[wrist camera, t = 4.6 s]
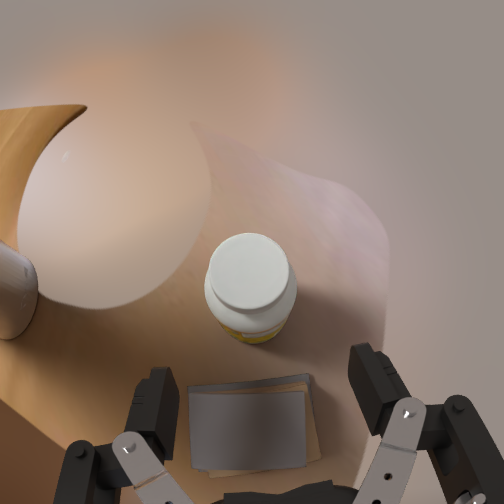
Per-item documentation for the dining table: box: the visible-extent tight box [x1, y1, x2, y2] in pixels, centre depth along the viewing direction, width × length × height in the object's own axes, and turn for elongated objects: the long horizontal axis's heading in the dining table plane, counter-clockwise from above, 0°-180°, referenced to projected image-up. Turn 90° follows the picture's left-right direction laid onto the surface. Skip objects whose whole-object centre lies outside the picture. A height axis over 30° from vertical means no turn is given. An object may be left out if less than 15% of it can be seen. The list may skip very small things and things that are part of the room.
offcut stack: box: [187, 373, 322, 478], centre depth 19 cm, size 9×7×4 cm
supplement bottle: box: [204, 233, 297, 344], centre depth 20 cm, size 5×5×10 cm
